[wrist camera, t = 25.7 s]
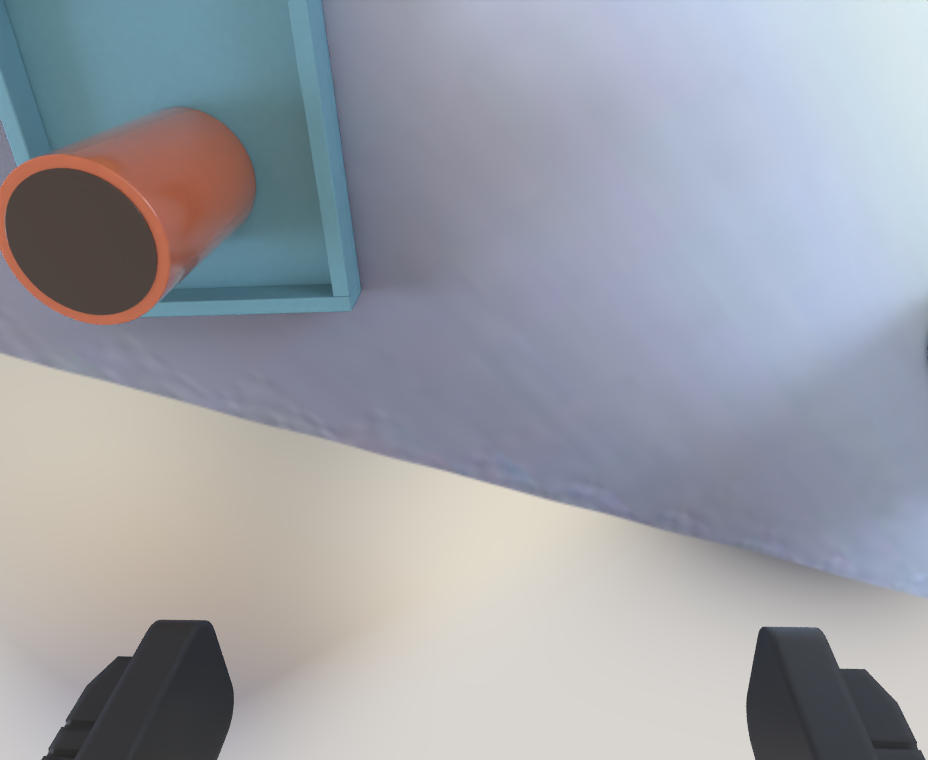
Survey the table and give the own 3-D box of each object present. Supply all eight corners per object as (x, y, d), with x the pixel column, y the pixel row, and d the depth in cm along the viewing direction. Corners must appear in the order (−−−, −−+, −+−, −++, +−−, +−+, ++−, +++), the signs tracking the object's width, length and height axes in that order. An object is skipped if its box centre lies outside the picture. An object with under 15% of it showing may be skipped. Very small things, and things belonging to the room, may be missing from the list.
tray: (361, 291, 39) (351, 311, 36) (94, 299, 40) (69, 319, 38) (270, -381, 26) (246, -414, 24) (-111, -337, 28) (-167, -364, 26)
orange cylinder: (274, 159, 38) (254, 375, 35) (154, 164, 39) (124, 377, 35) (169, -19, 27) (126, 274, 24) (3, -9, 28) (-61, 279, 24)
